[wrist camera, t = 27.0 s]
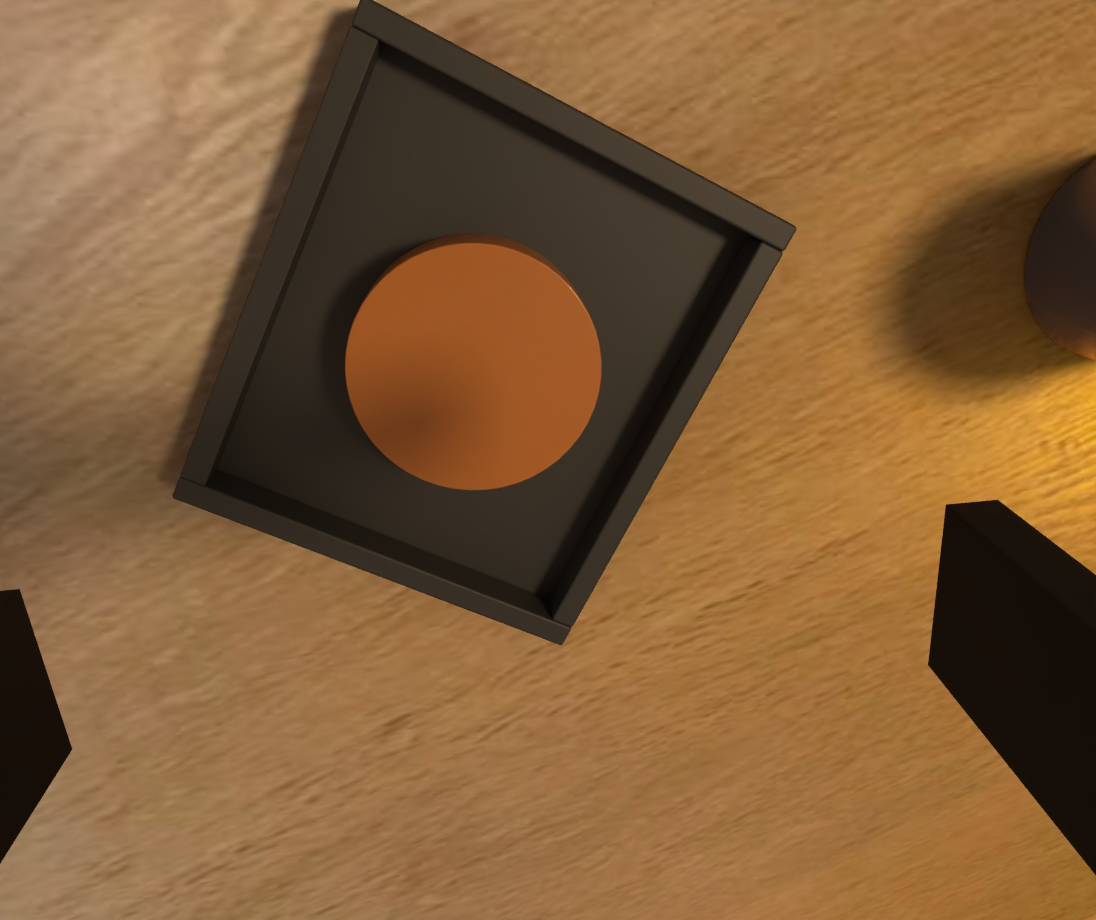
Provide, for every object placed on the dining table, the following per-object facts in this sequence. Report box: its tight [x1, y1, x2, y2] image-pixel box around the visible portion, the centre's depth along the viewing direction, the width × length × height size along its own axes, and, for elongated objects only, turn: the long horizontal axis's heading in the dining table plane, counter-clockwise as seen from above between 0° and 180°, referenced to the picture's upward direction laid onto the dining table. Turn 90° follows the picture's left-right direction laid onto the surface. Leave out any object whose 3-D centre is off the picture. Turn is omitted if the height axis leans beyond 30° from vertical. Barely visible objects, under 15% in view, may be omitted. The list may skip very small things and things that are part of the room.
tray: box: [173, 0, 796, 645], centre depth 28 cm, size 16×14×2 cm
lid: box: [345, 234, 602, 490], centre depth 27 cm, size 8×8×2 cm
